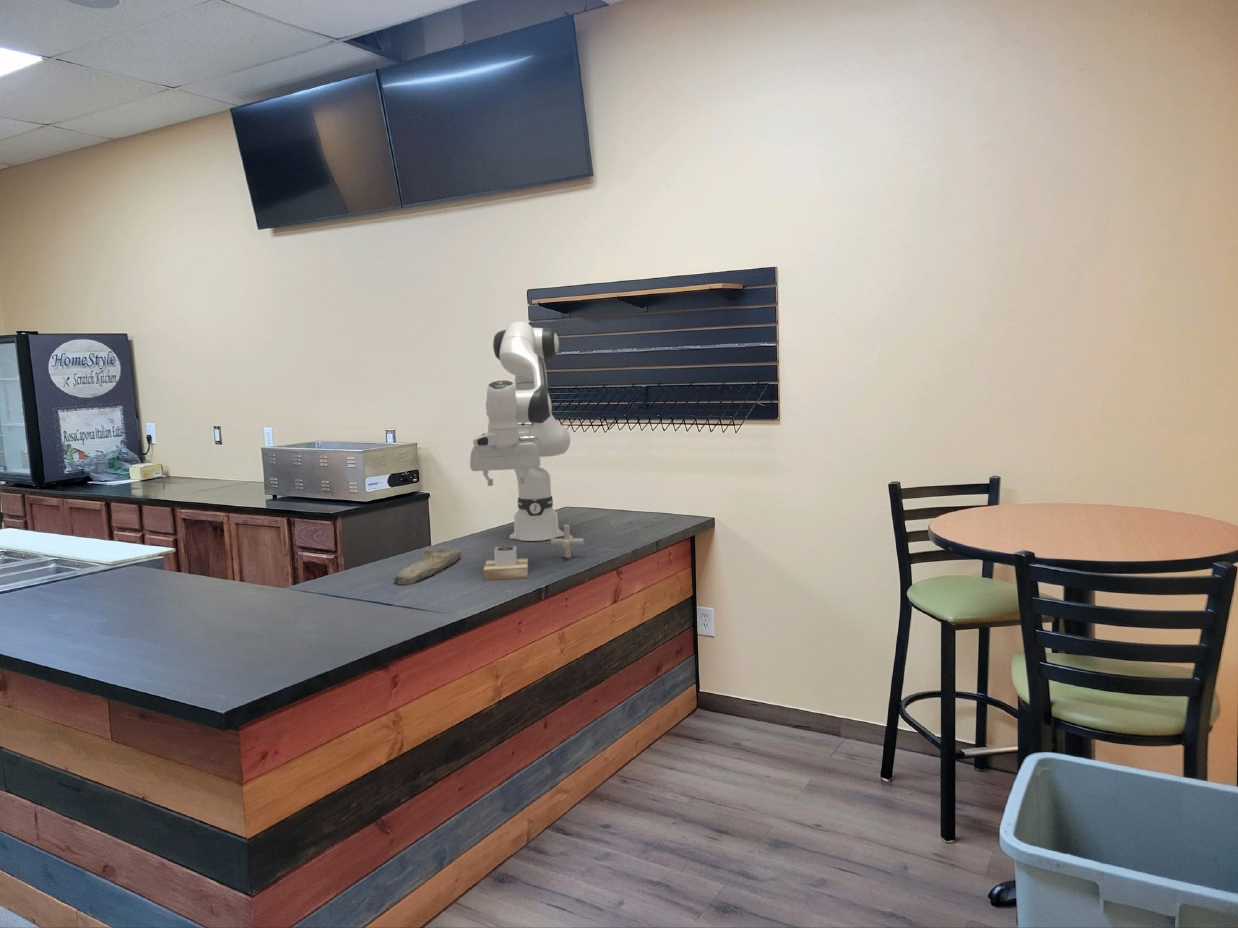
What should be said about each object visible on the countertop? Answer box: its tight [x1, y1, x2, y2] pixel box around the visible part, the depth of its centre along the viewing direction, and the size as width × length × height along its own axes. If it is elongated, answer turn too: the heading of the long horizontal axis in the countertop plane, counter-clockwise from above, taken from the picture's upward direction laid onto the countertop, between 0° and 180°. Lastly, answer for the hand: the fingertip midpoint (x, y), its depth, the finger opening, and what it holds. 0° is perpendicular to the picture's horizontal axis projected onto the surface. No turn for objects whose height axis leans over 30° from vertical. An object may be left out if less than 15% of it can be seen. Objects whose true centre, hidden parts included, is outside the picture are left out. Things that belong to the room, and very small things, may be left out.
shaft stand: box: [483, 543, 529, 581], centre depth 245 cm, size 12×12×8 cm
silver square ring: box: [493, 545, 518, 567], centre depth 245 cm, size 6×6×4 cm
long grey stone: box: [393, 546, 462, 586], centre depth 254 cm, size 35×5×10 cm
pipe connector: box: [550, 524, 585, 559], centre depth 263 cm, size 10×10×10 cm
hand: (506, 484), depth 249 cm, fingers open, 8 cm apart
